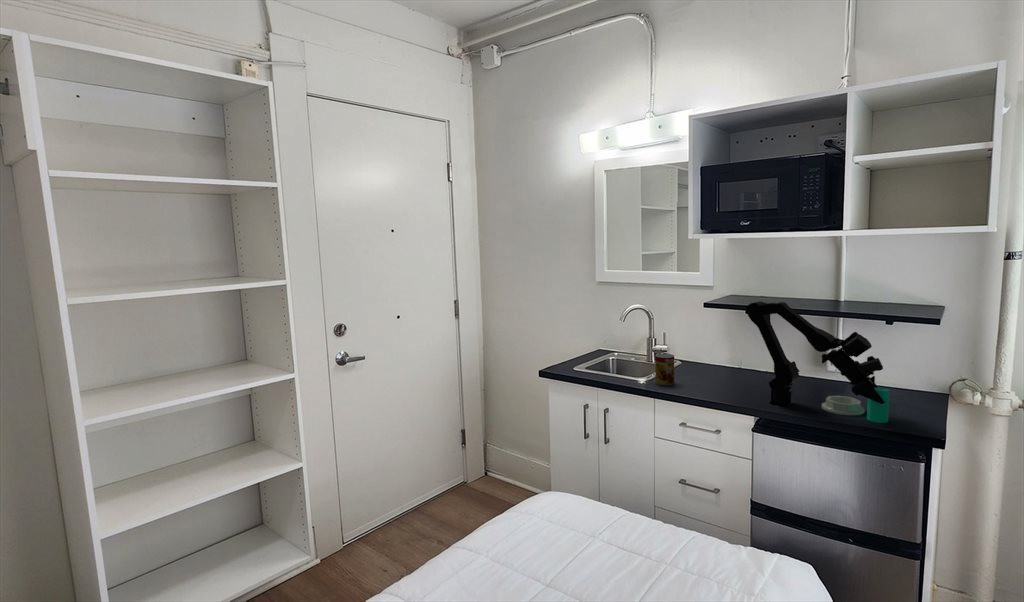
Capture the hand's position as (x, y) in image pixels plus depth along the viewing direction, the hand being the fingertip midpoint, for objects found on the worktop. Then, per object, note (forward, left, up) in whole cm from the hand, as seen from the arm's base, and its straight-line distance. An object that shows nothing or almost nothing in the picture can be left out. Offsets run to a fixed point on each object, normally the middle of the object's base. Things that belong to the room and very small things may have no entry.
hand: (883, 401), depth 178 cm
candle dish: (-12, +5, -7) cm, 15 cm away
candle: (-1, 0, -7) cm, 7 cm away
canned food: (-78, +1, -7) cm, 79 cm away
